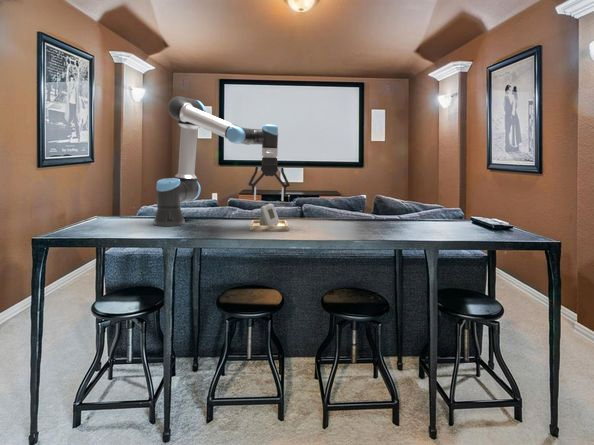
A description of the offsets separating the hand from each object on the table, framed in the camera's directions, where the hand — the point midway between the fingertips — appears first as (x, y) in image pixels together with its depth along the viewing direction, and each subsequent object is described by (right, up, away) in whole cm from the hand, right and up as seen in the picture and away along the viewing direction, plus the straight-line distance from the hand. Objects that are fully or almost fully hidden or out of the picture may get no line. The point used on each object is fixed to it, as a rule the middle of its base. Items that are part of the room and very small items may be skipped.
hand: (268, 200), depth 215 cm
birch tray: (0, -14, +2) cm, 14 cm away
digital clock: (+1, -13, +1) cm, 13 cm away
